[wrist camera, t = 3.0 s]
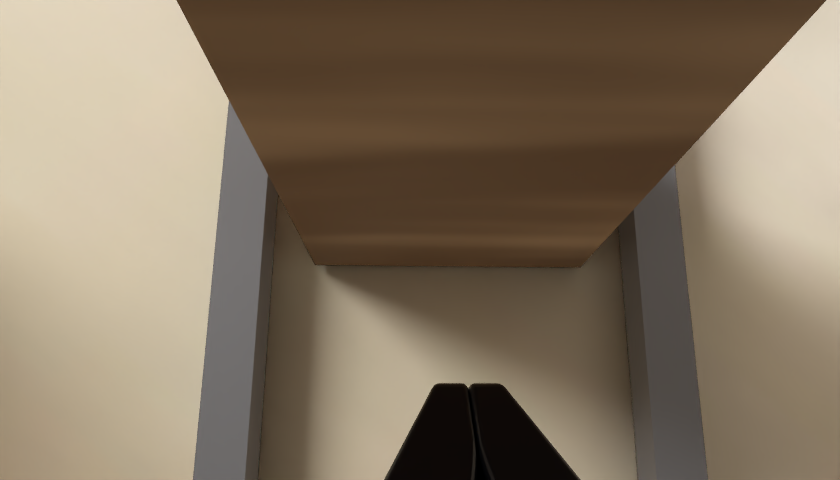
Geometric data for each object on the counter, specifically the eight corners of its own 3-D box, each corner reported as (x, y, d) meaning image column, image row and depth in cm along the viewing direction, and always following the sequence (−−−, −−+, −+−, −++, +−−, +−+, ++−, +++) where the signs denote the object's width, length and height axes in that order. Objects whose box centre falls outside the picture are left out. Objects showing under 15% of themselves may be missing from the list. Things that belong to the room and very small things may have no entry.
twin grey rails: (695, 580, 14) (766, 614, 11) (201, 577, 14) (147, 611, 11) (625, -139, 19) (662, -241, 17) (265, -144, 19) (239, -247, 16)
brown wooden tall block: (580, 267, 16) (1193, -400, 3) (315, 264, 16) (-45, -420, 3) (573, 145, 17) (1042, -741, 4) (321, 143, 17) (55, -761, 4)
